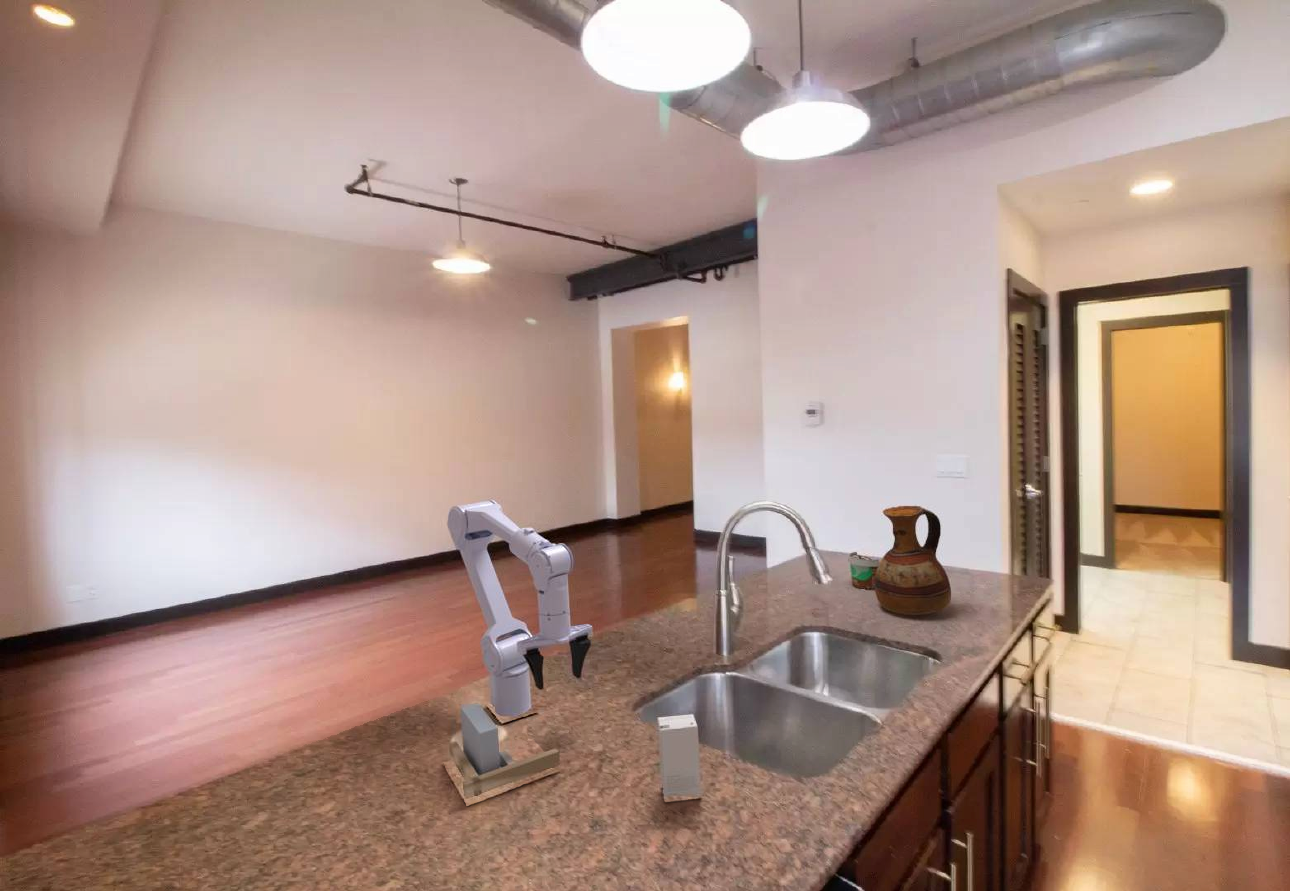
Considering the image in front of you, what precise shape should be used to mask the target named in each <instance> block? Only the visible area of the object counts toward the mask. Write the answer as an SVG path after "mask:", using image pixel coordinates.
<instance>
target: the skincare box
mask: <svg viewBox="0 0 1290 891" xmlns="http://www.w3.org/2000/svg"><path fill="white" fill-rule="evenodd" d="M656 720H657V732H658V733H657V734H658V748H659V752H658V753H659V765H660V766H659V769H660V782H661V783H662V786H661V789H662V788H663V790H662V795H663V794H664V796H663V798H664V797H671V796H687V795H697V794H698V795H700V794H701V795H702V780H701V759H700V757H701V756H700V743H699V742H700V741H699V727H698V724H697V722H696V718H695V715H694V714H693V713H691V714H682V715H672V716H671V715H670V716H661V717H660V716H659V717H657V719H656ZM661 783H660V784H661Z"/></svg>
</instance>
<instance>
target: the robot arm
mask: <svg viewBox="0 0 1290 891" xmlns="http://www.w3.org/2000/svg"><path fill="white" fill-rule="evenodd" d="M446 525H447V529H448V531H449V533H450V537H451V539H452V542H453V545H454V547H455V549H457V550H458V551H459V552H460V555H461V558H462V560H463V563H464V566H465V568H466V571H467V574H468V578H469V579H470V582H471V585H472V587H473V591H474V593H475V596H476V599H477V601H478V604H479V606H480V610H481V612H482V614H483V618H484V620H485V621H484V622H485V623H486V626H487V629H486V630H485V632H484V634H483V636H482V637H481V639H480V642H479V645H480V648H481V653H482V661H483V666H484V667H485V669H486V670H487V672H489V675H488V680H489V695H490V697H489V698H490V703H491V704H492V705H493V707H495V712H496V713H497V714H498V715H500V716H517V715H520V714H523V713H525V712H527V711H528V710H529V709H530V708H531V703H532V701H531V700H532V698H531V696H532V695H531V683H530V682H531V680H530V679H531V678H530V671H531V674H532V676H533V681H534V684H535V687H536V688H537V689H538V690H539V691H541V690H544V685H545V684H544V683H545V682H544V673H543V672H544V669H543V667H544V656H543V655H542V654H541V651H540V649H544V648H547V647H552V646H555V645H565V644H568V643H569V650H570V653H571V671H572V675H573V676H574V677H575V678H577V679H581V678H582V673H583V672H582V670H583V667H584V662H585V659H586V656H587V653H588V651H589V649H590V648H591V645H592V643H591V642H592V641H591V639H590V638H591V637H594V632H593V631H594V629H593V626H592V625H590V624H588V623H585V624H580V625H574V626H573V625H572V626H571V612H570V594H569V579H568V578H569V577H568V574H570V573H571V572H572V570H573V568H574V557H573V556H574V555H573V553H572V551H571V549H570V548H569V547H568V546H567V545H566V544H565V543H560V542H559V543H557V544H556V543H552V542H550V541H549V540H548V539H545V538H544V537H543V536H541V535H540V534H538V533H537V532H536V531H535V529H534V528H533V527H531V526H530V527H521V528H520V527H519V526H518V525H517V524H515V523H514V522H513V521H512V520H511V518H508V516H507V515H505V514H504V513H503V508H502V505H501V504H499V503H497V501H496V500H495V499H494V500H493V499H488V500H486V501H480V502H474V503H468V504H462V505H453V506H452V507H451V508H450V509H449V512H448V515H447V522H446ZM495 536H496V537H498V538H500V539H502V540H503V541H505V542H506V543H508V545H509V546H508V548H509V551H510V552H511V554H513V555H514V556H516V557H517V558H518V559H520V560H521V561H522V562H524V564H526V565H528V569H529V572H530V574H531V577H532V578H533V579H532V580H533V586H534V588H535V590H537V603H538V604H537V606H538V621H539V622H538V624H539V633H537V634H535V635H532V633H531V632H530V630H529V629H528V626H527V623H525V622H523V621H522V620H519V619H517V618H515V617H513V614H512V613H511V610H510V608H509V605H508V602H507V599H506V597H505V594H504V592H503V588H502V586H501V584H500V581H499V578H498V575H497V573H496V571H495V568H494V565H493V563H492V560H491V557H490V554H489V552H488V545H489V544H490V543H491V542H493V541H494V538H495Z"/></svg>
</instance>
